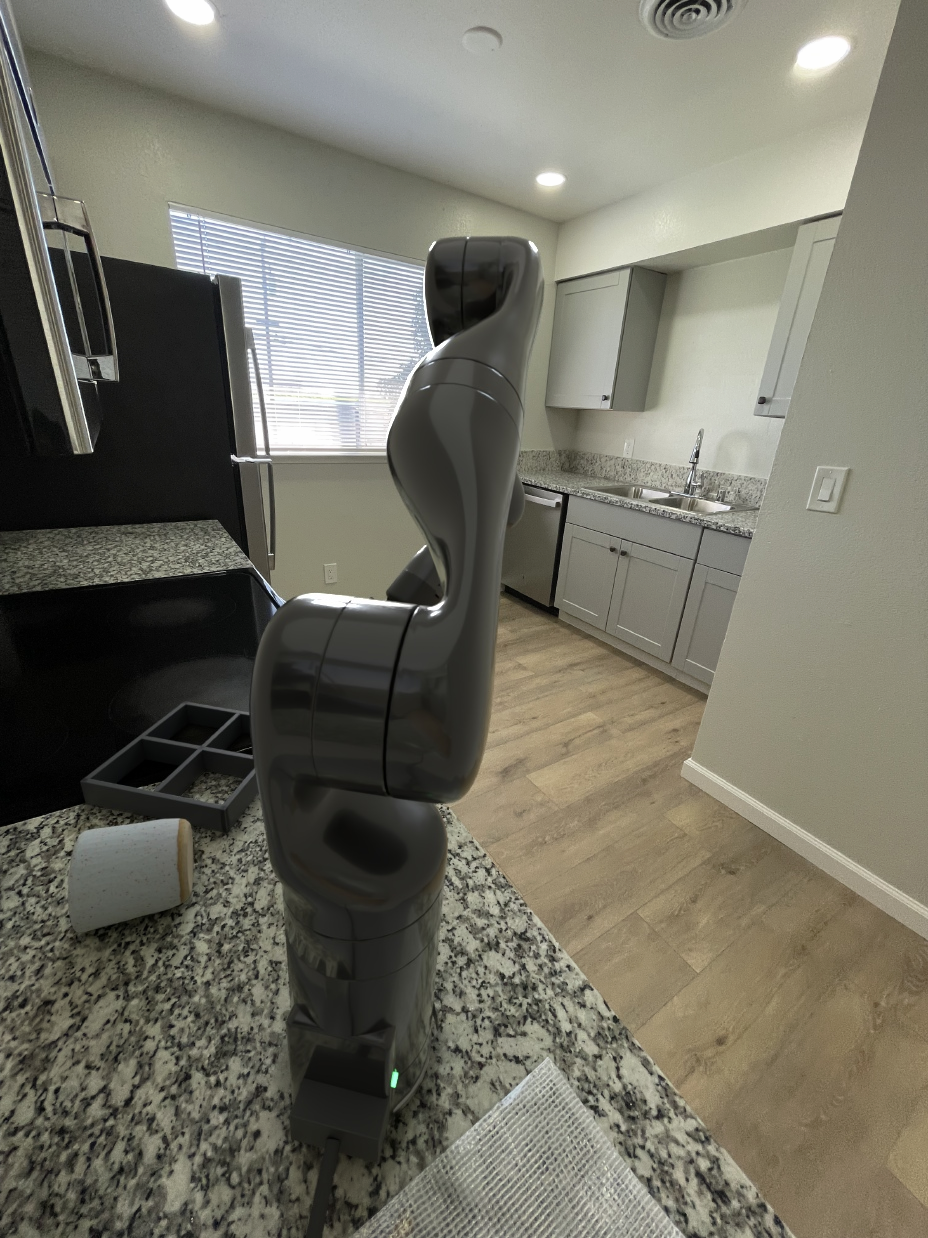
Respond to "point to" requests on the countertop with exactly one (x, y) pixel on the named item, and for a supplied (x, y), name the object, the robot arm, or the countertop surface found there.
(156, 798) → the dark grey divided tray
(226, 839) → the countertop surface
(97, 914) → the ceramic mug
